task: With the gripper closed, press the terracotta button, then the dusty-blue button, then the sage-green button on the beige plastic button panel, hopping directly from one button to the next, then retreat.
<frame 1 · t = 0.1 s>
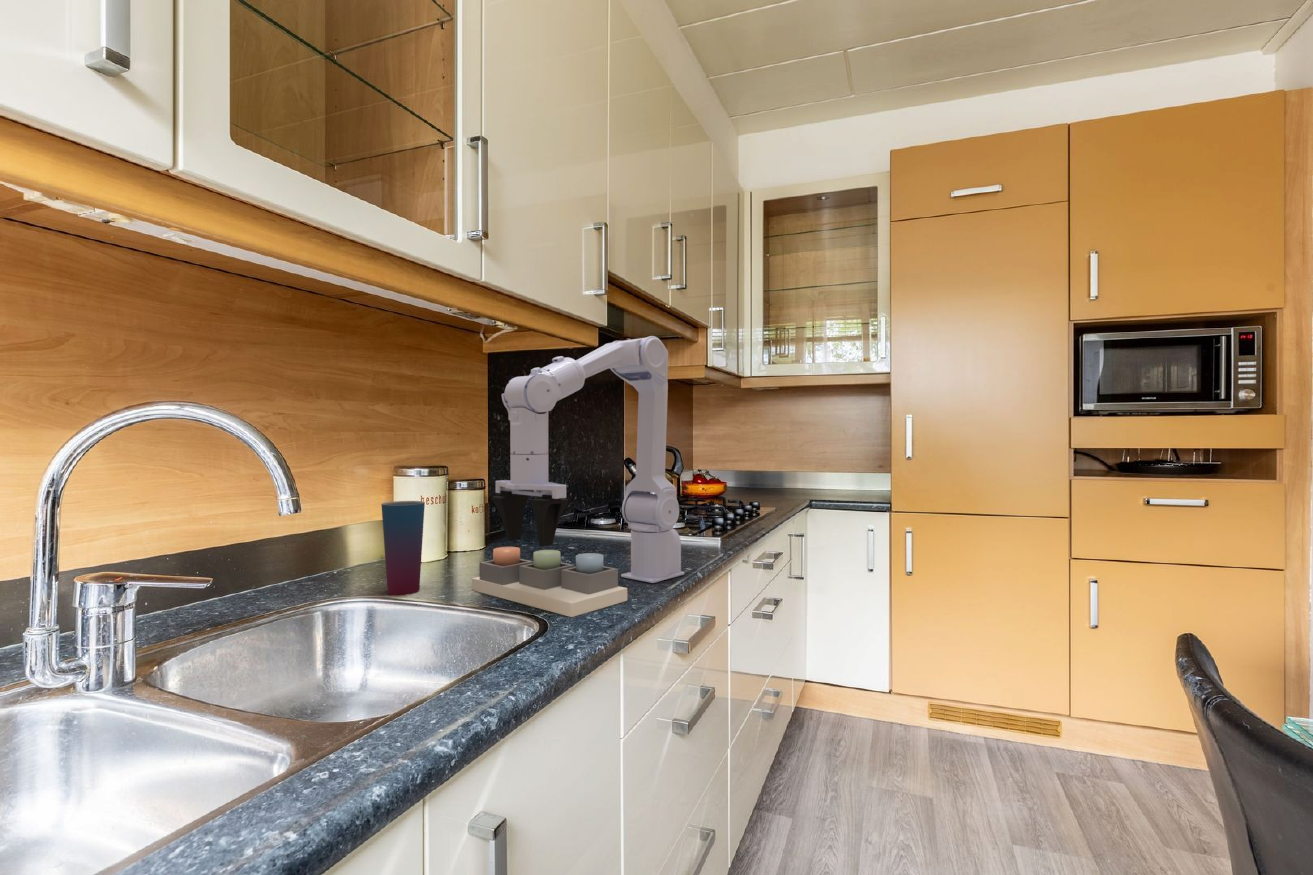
hand: (529, 542, 98), 10 cm above the table, tool pointing down, fingers open, 7 cm apart
panel: (547, 595, 106), on the table
button terracotta: (506, 556, 109), point 6 cm above the table, slide at 0.0 cm
cup: (403, 592, 109), on the table
button blue: (589, 563, 103), point 6 cm above the table, slide at 0.0 cm
button green: (547, 559, 106), point 6 cm above the table, slide at 0.0 cm
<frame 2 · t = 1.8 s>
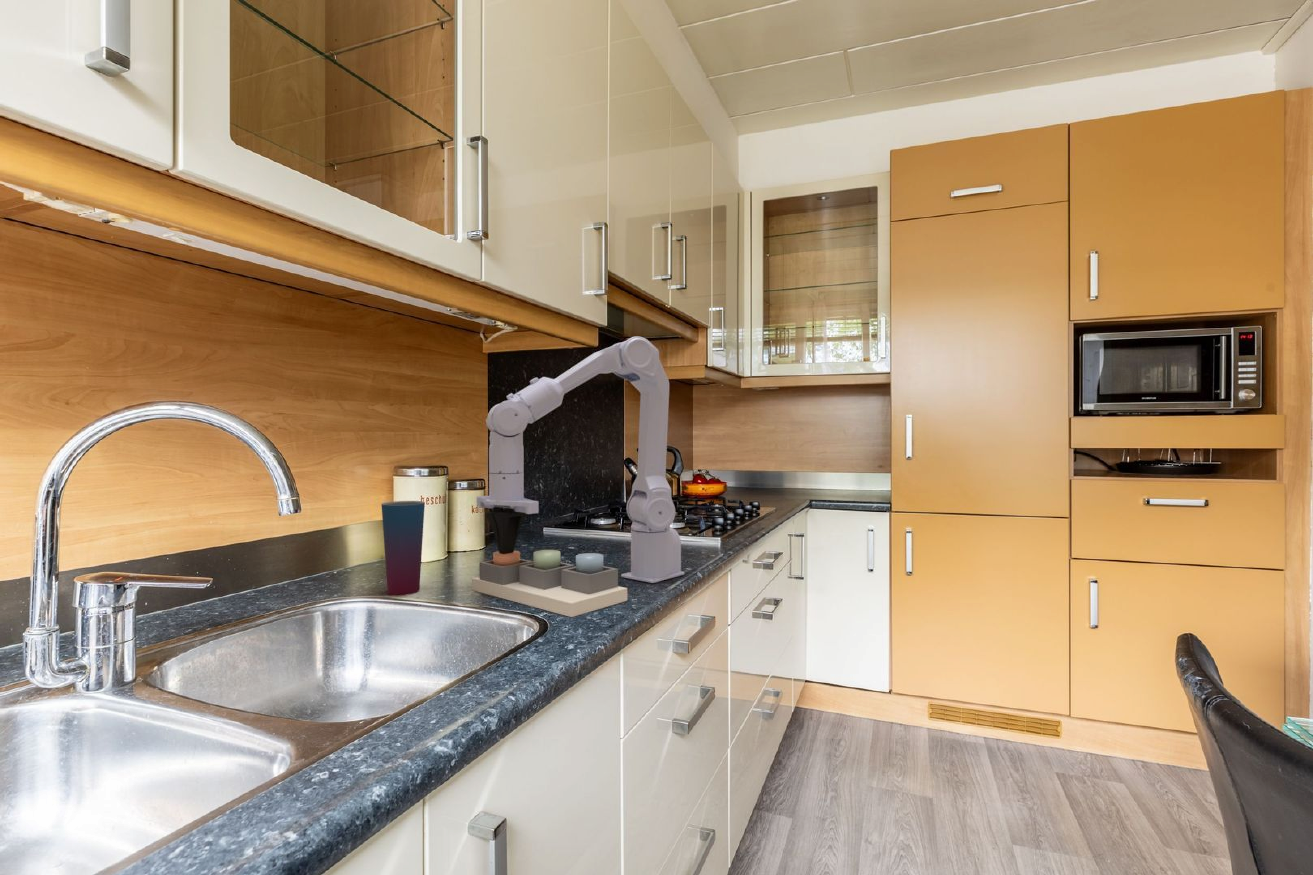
hand: (506, 552, 109), 6 cm above the table, tool pointing down, fingers closed, pressing on button terracotta
button terracotta: (506, 559, 109), point 5 cm above the table, slide at 0.6 cm, touching gripper
everything else where it was.
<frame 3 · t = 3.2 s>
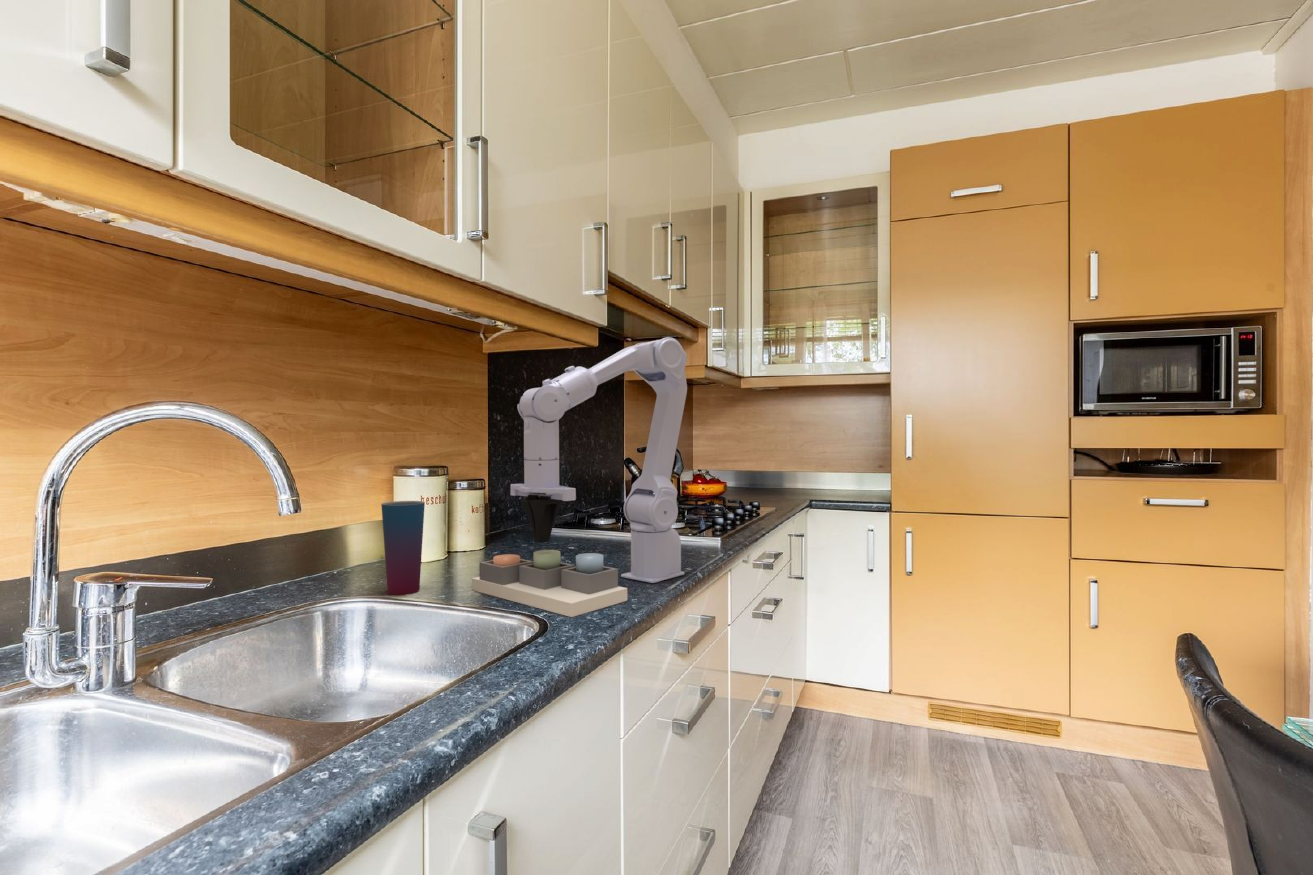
hand: (542, 541, 107), 9 cm above the table, tool pointing down, fingers closed
button terracotta: (506, 563, 109), point 5 cm above the table, slide at 1.3 cm
everything else where it was.
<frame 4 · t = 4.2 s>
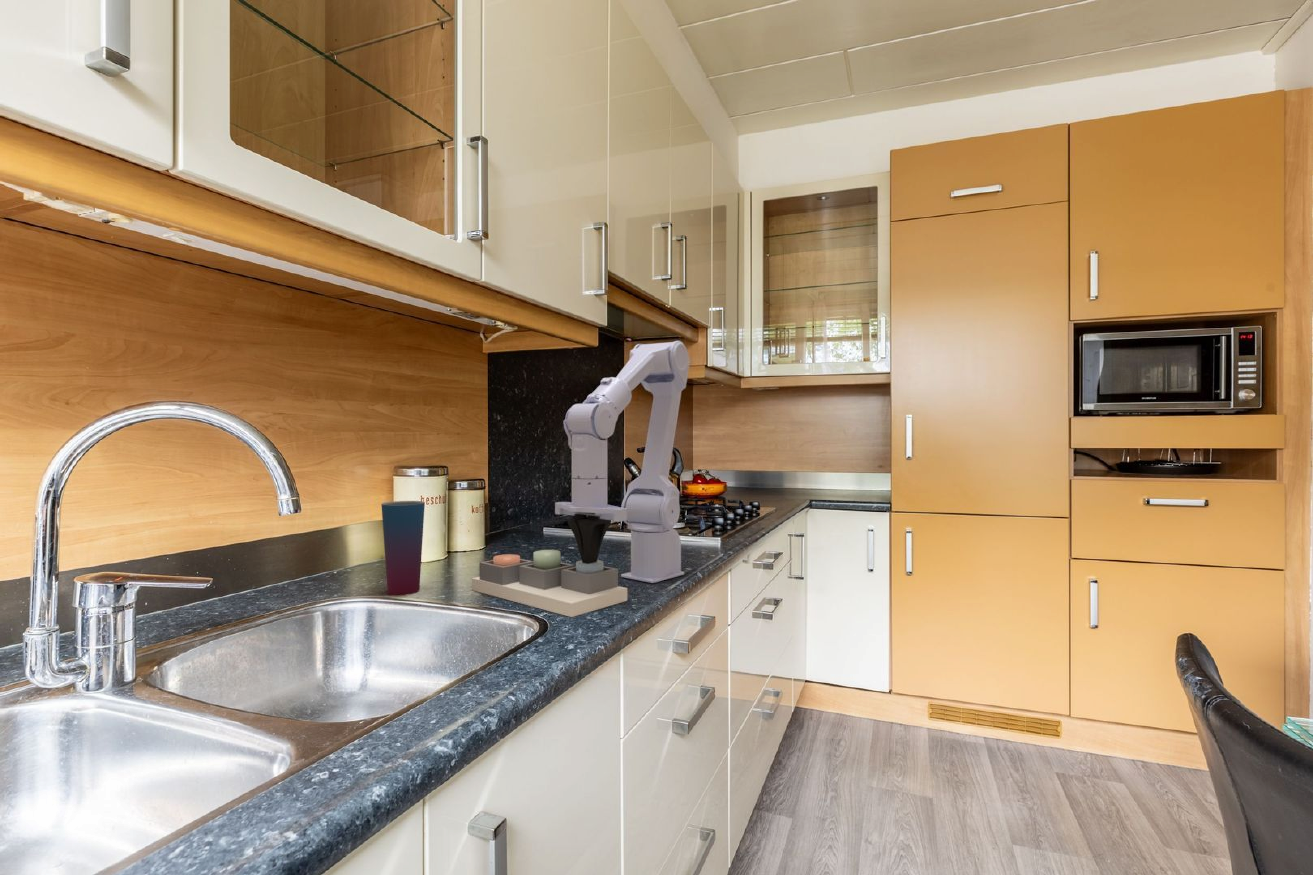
hand: (589, 562, 103), 6 cm above the table, tool pointing down, fingers closed, pressing on button blue
button blue: (589, 569, 103), point 5 cm above the table, slide at 1.1 cm, touching gripper
everything else where it was.
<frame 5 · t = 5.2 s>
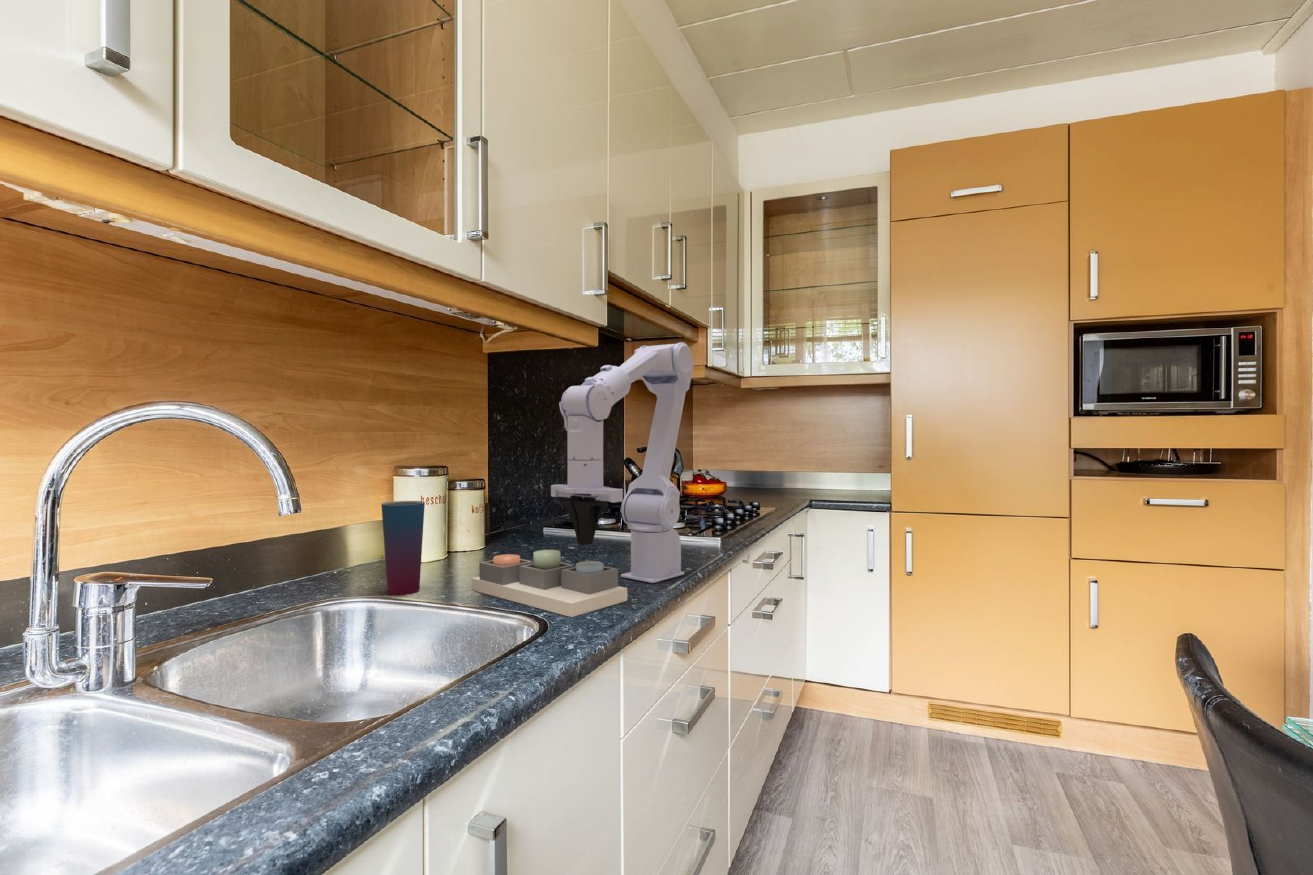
hand: (585, 544, 103), 9 cm above the table, tool pointing down, fingers closed
button blue: (589, 571, 103), point 5 cm above the table, slide at 1.3 cm
everything else where it was.
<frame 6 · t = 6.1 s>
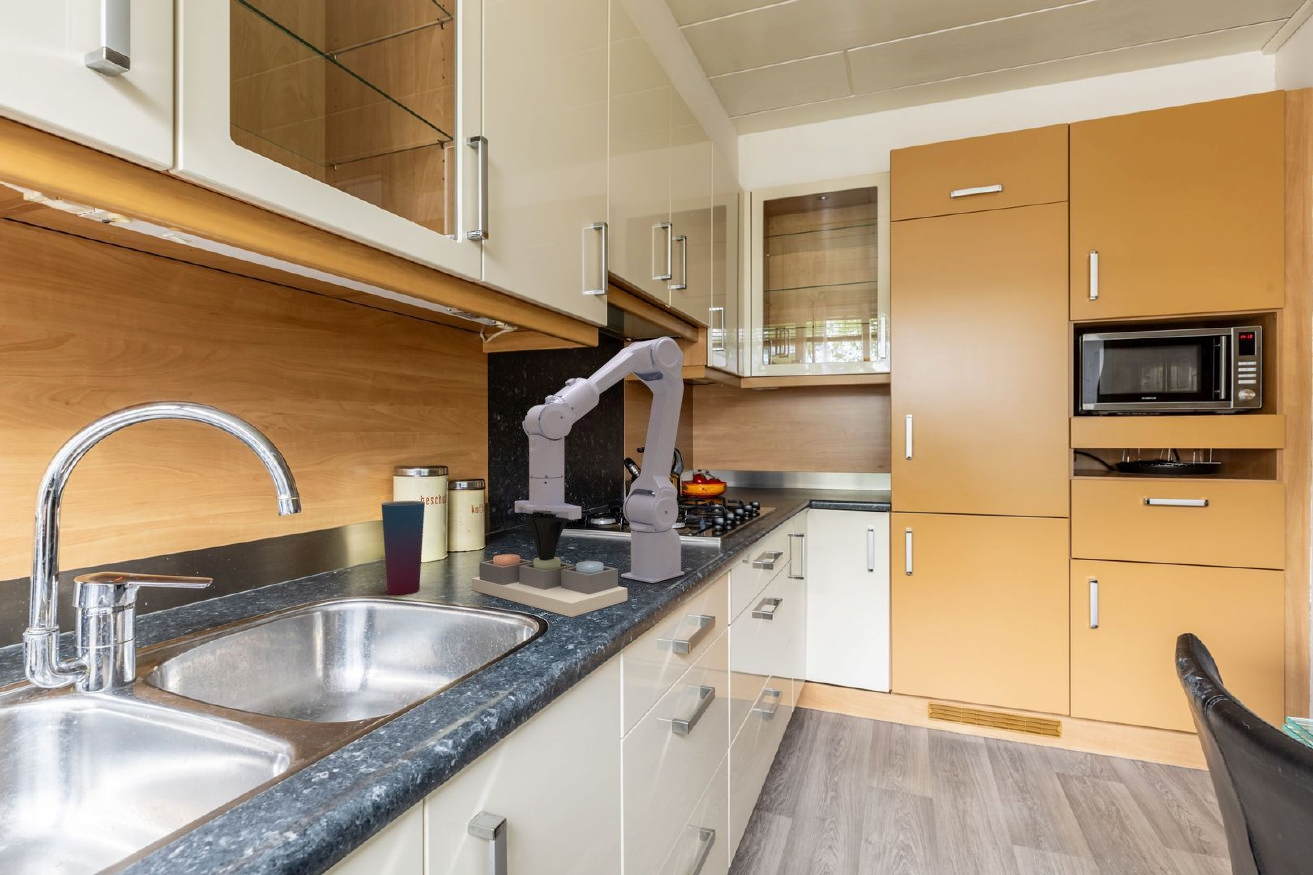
hand: (546, 559, 106), 6 cm above the table, tool pointing down, fingers closed, pressing on button green
button green: (547, 566, 106), point 5 cm above the table, slide at 1.1 cm, touching gripper
everything else where it was.
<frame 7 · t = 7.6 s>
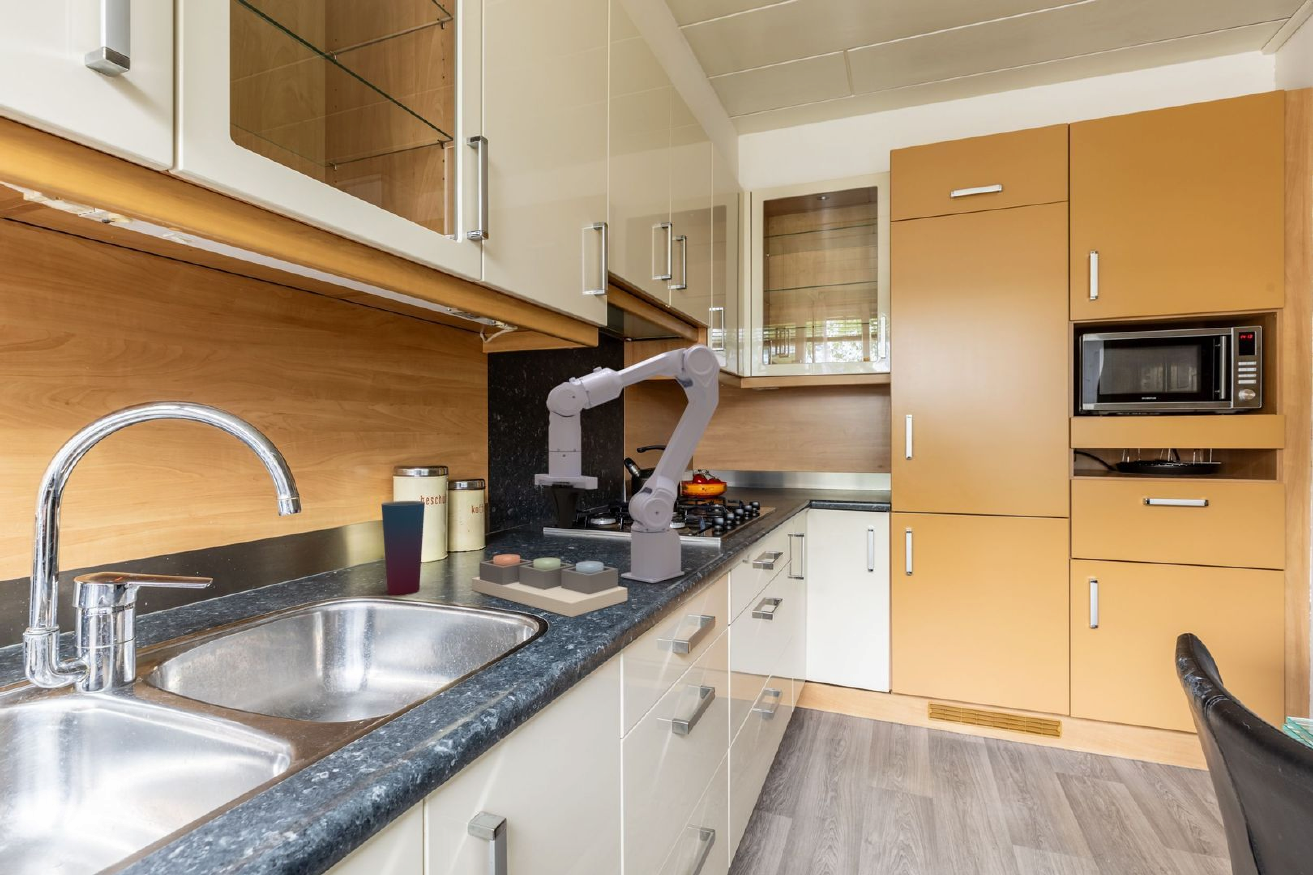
hand: (565, 527, 115), 10 cm above the table, tool pointing down, fingers closed
button green: (547, 567, 106), point 5 cm above the table, slide at 1.3 cm
everything else where it was.
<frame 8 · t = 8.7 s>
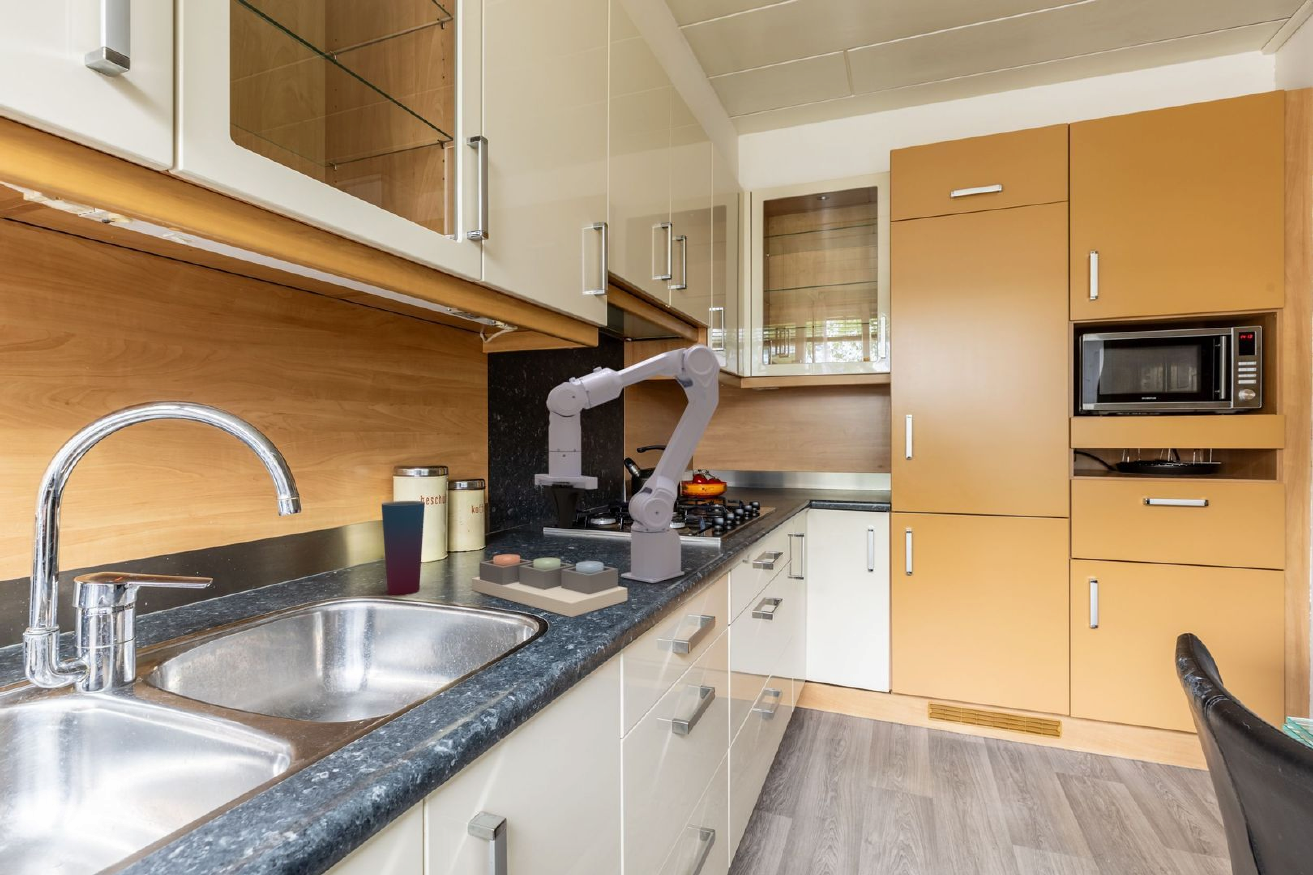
hand: (565, 527, 115), 10 cm above the table, tool pointing down, fingers closed
nothing on the table moved.
at the end: button terracotta slide at 1.3 cm; button blue slide at 1.3 cm; button green slide at 1.3 cm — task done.
